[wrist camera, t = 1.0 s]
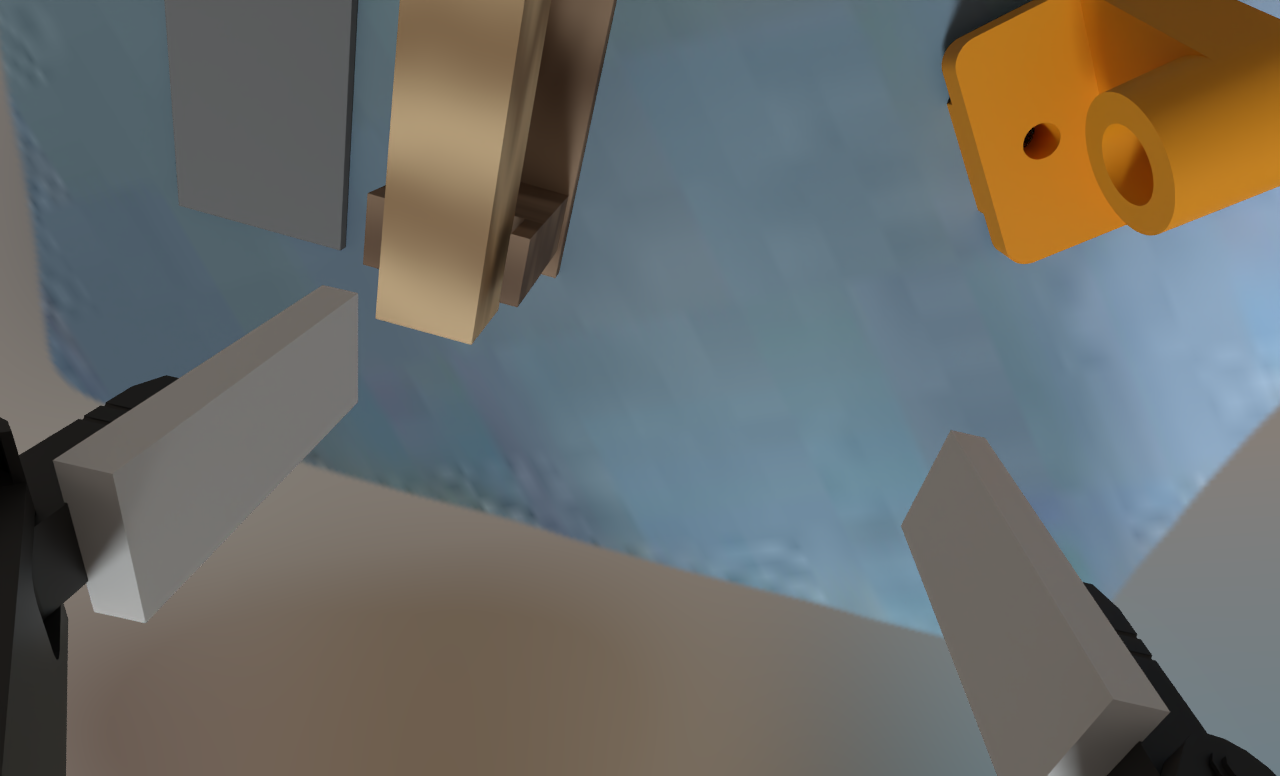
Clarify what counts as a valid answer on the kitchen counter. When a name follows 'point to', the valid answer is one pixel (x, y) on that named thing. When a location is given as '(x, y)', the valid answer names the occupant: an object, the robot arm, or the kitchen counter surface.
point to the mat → (264, 111)
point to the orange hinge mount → (1114, 116)
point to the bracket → (543, 147)
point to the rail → (456, 159)
